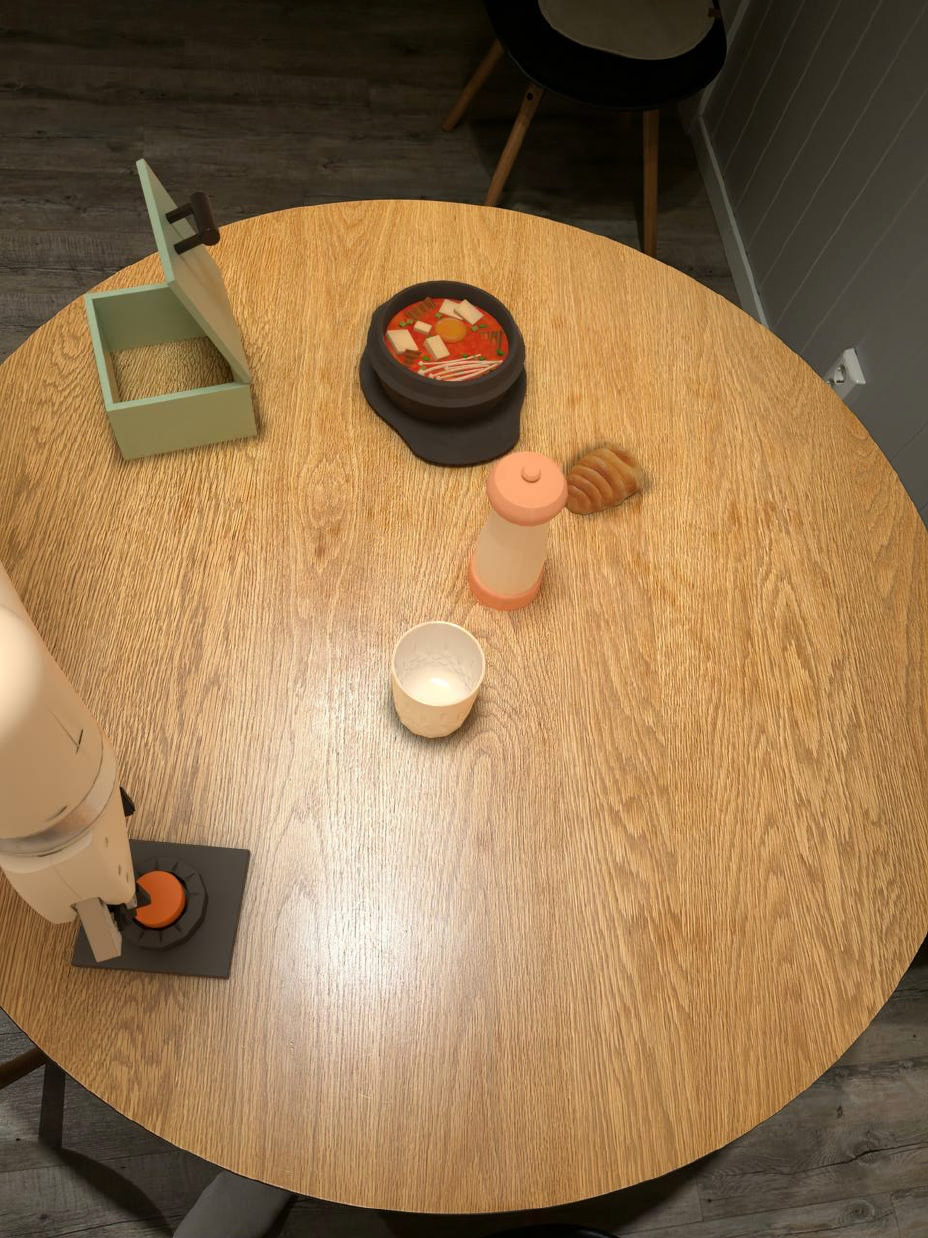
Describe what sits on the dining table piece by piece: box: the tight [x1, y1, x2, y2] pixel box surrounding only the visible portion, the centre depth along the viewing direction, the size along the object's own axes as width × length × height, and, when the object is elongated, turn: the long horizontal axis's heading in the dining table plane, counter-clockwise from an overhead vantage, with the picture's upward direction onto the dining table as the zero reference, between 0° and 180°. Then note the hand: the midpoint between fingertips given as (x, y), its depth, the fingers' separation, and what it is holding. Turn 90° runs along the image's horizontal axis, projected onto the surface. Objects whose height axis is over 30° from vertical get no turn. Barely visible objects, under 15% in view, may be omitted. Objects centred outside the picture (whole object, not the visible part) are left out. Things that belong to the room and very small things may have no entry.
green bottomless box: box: [82, 281, 258, 461], centre depth 97 cm, size 14×16×9 cm
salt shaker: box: [467, 450, 568, 612], centre depth 86 cm, size 7×7×19 cm
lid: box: [135, 158, 253, 383], centre depth 88 cm, size 14×16×5 cm
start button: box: [135, 871, 186, 928], centre depth 73 cm, size 4×4×2 cm
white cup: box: [390, 620, 486, 739], centre depth 83 cm, size 8×8×10 cm
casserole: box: [358, 279, 528, 465], centre depth 102 cm, size 25×19×8 cm
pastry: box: [564, 443, 645, 516], centre depth 99 cm, size 9×7×4 cm
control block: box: [70, 838, 252, 980], centre depth 75 cm, size 12×10×4 cm
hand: (118, 859), depth 61 cm, fingers open, 5 cm apart
